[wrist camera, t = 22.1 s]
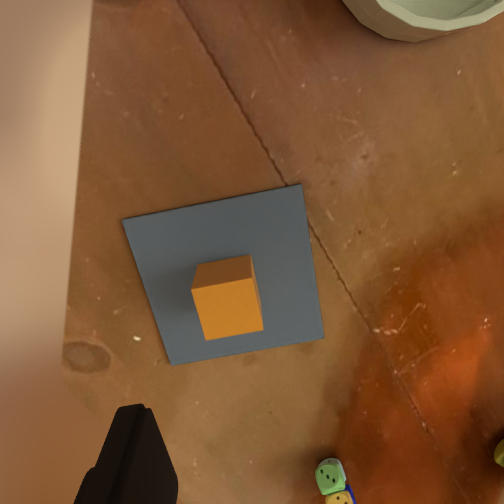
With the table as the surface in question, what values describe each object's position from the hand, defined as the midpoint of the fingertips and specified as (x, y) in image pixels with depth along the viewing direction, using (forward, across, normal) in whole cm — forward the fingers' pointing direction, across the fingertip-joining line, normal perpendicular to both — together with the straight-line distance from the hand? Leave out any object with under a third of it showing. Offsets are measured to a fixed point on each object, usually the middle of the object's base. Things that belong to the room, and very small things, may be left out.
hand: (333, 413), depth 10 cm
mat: (+24, +5, +8) cm, 26 cm away
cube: (+24, +5, +8) cm, 26 cm away
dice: (+24, -2, +34) cm, 42 cm away
